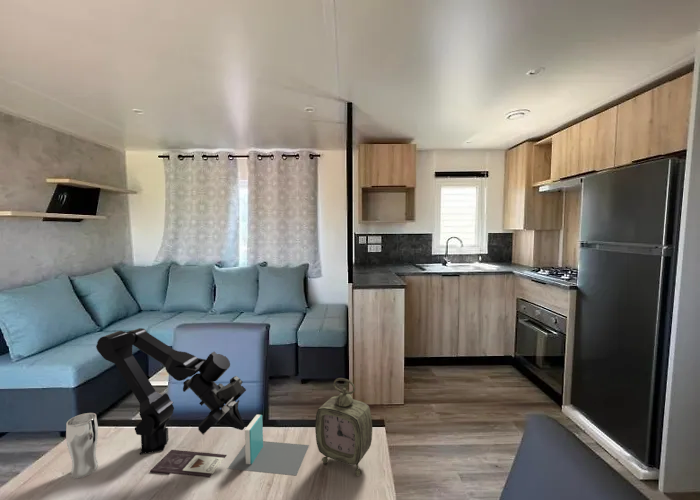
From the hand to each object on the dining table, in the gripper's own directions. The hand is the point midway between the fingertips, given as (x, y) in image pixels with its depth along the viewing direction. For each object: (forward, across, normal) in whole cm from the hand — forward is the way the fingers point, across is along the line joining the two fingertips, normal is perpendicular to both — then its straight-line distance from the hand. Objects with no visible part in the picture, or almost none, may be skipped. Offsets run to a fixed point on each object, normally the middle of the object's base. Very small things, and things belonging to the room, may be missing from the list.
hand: (243, 428), depth 100 cm
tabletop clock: (+28, +1, -15) cm, 32 cm away
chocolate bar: (-4, -6, +16) cm, 18 cm away
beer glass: (-24, -12, +35) cm, 44 cm away
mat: (+12, 0, 0) cm, 12 cm away
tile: (+8, 0, +3) cm, 8 cm away
